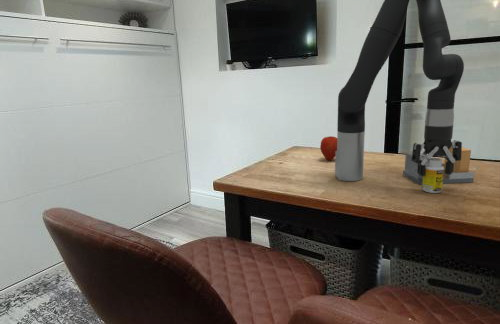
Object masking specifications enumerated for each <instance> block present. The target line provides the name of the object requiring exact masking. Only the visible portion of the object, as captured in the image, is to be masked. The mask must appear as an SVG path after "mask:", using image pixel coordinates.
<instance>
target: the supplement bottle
mask: <svg viewBox="0 0 500 324" xmlns="http://www.w3.org/2000/svg"><path fill="white" fill-rule="evenodd" d="M442 163H443V160H442V158H437V157H431V158H430V159H429V160H428V161H427V164H426V165H425V176H423V183H422V185H421V190H423V191H424V192H426V193H430V194H438V193H441V192H442V190H443V184H442V183H443V174H444V167H443V166H442Z"/></svg>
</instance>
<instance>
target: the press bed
mask: <svg viewBox="0 0 500 324" xmlns="http://www.w3.org/2000/svg"><path fill="white" fill-rule="evenodd" d="M412 152H413V151H412ZM412 152H405V159H404V160H405V161H404V170H403V171H402V175H403V176H404V177H406V178H408V179H409V180H411V181H413V182H414V183H415V184H417V185H418V186H419V185H420V186H422V183H423V176H420V175H419V174H418V173H417V169H418V164H417V163H415V162H413V161H412ZM420 157H421V155H420ZM444 163H445V162H442V166H443V167H444ZM426 164H427V162H426V163H425V164H424V165H426ZM474 178H475V172H474V171H468V172H453V173H452V174H450V175H448V174H446V173H445V170H444V174H443V183H442V185H443V184H446V185H447V184H469V183H474Z"/></svg>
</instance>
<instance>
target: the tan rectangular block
mask: <svg viewBox="0 0 500 324" xmlns="http://www.w3.org/2000/svg"><path fill="white" fill-rule="evenodd" d="M449 151H450V152H451V154H452V155H453V148H452V146H451V148H450V149H449ZM471 153H472V149H468V148H466V147H464V146H462V151H461V160H460V161H455V162H454V168H453V172H470V171H469V169H470V164H471V163H470V160H471ZM446 162H447V160H446V158H445V157H444V162H443V163H444V170H445V168H446ZM453 172H452V173H453Z"/></svg>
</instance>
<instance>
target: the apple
mask: <svg viewBox="0 0 500 324" xmlns="http://www.w3.org/2000/svg"><path fill="white" fill-rule="evenodd" d="M319 147H320V148H319V149H320V151H321V154H322V155H323V157H324V158H325V160H326V161H332V160H335V152H336V151H337V136H325V137H323V138H322V139H321V141H320V146H319Z"/></svg>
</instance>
